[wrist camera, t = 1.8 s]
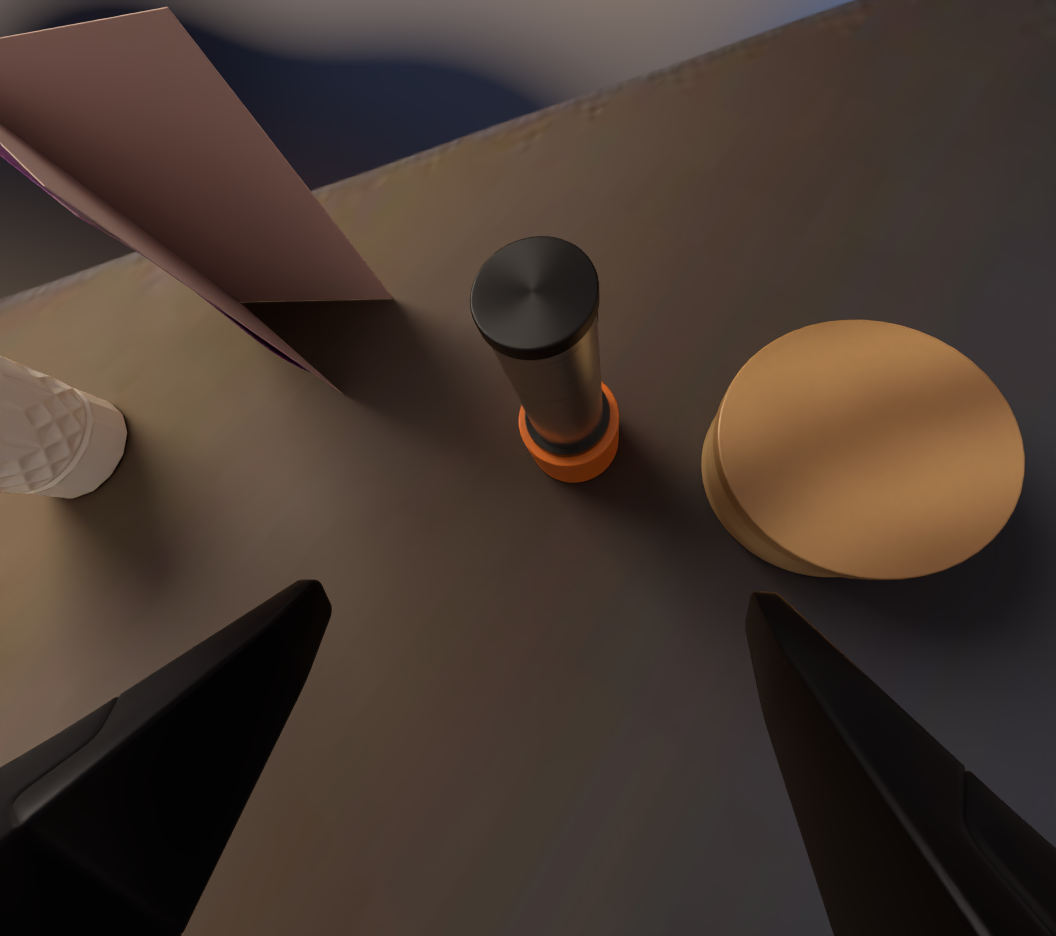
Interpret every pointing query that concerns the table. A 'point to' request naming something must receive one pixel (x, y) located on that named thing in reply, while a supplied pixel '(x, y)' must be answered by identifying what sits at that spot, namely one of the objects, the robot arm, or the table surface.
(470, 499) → the table surface
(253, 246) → the greeting card
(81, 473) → the white cup
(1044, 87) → the table surface
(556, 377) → the torch
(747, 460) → the birch box
